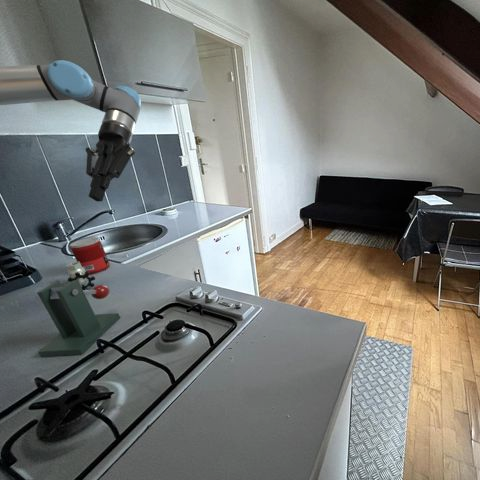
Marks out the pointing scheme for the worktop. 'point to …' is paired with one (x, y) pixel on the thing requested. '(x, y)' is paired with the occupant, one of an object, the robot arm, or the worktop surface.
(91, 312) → the bracket
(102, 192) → the robot arm
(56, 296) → the lever
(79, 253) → the canned food
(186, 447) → the worktop surface
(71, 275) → the valve
